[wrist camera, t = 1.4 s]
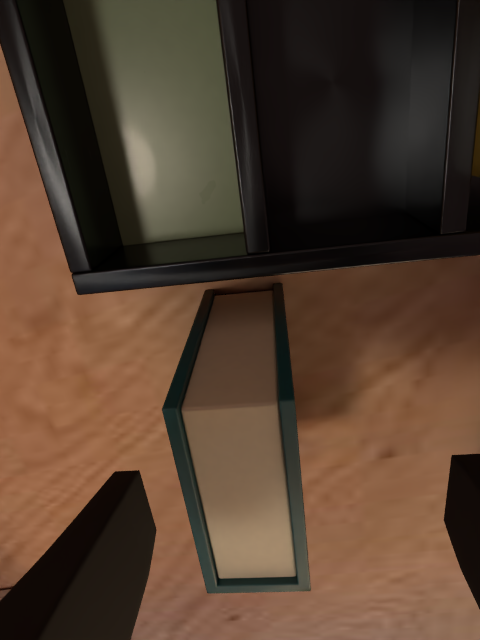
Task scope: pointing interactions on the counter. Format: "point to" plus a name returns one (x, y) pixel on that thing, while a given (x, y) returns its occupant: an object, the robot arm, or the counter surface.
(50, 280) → the counter surface
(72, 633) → the robot arm
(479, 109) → the mustard book
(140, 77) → the caddy
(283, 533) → the teal book
